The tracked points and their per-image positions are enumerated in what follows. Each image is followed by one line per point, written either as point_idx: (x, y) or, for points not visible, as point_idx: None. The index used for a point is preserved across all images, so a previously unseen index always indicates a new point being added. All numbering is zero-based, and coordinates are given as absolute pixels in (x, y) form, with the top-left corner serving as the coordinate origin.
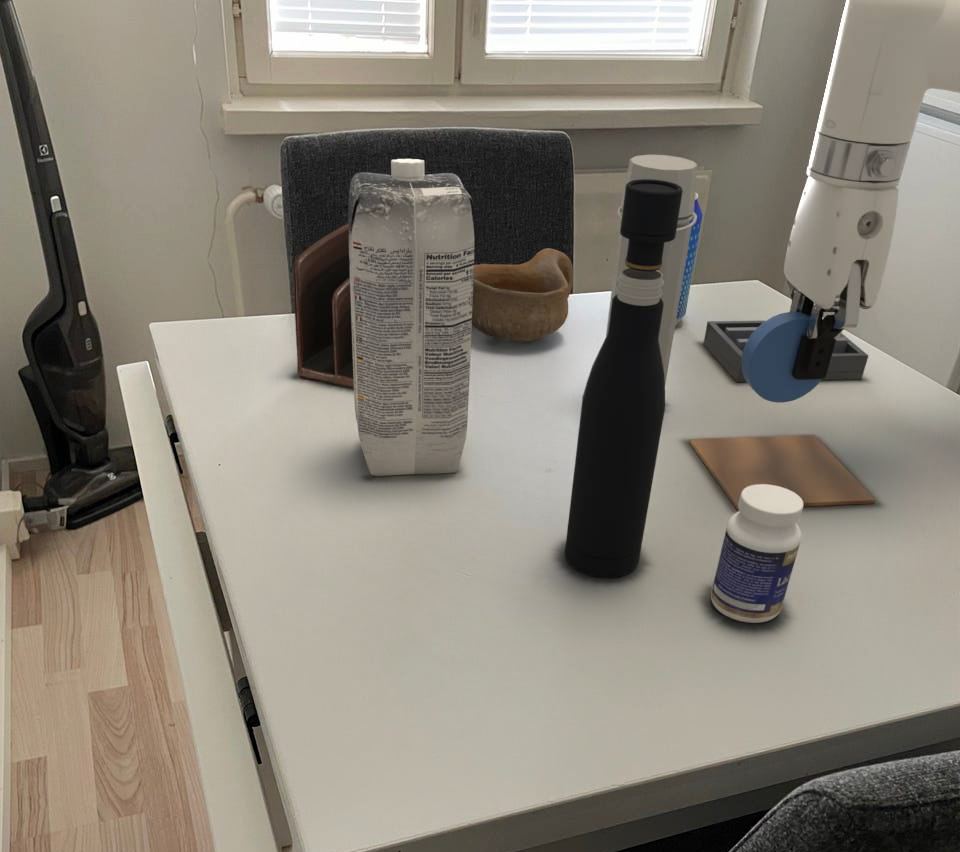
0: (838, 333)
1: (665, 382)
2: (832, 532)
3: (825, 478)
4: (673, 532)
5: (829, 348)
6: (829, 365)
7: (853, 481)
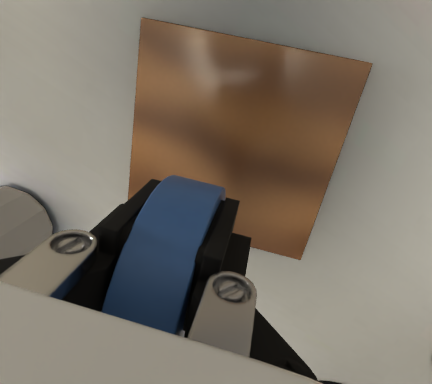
0: (276, 333)
1: (4, 205)
2: (405, 183)
3: (280, 101)
4: (314, 336)
5: (244, 273)
6: (219, 192)
7: (305, 59)
